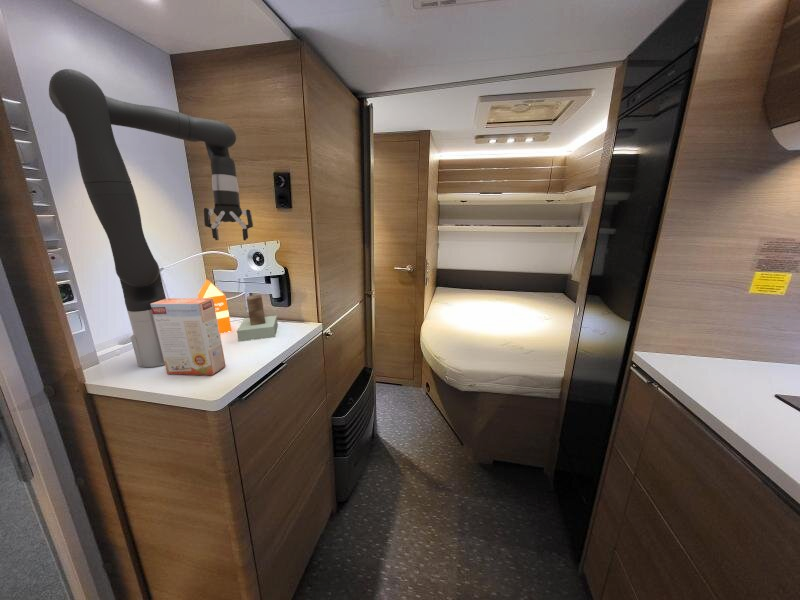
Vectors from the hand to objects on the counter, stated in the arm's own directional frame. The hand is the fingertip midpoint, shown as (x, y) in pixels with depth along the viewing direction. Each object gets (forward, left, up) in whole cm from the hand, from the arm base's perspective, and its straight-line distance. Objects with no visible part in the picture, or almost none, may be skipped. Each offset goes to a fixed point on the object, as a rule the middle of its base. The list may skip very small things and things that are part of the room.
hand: (231, 240), depth 104 cm
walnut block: (+4, +1, -31) cm, 31 cm away
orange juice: (-12, +9, -35) cm, 38 cm away
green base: (+4, +1, -35) cm, 35 cm away
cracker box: (-9, -26, -35) cm, 44 cm away
